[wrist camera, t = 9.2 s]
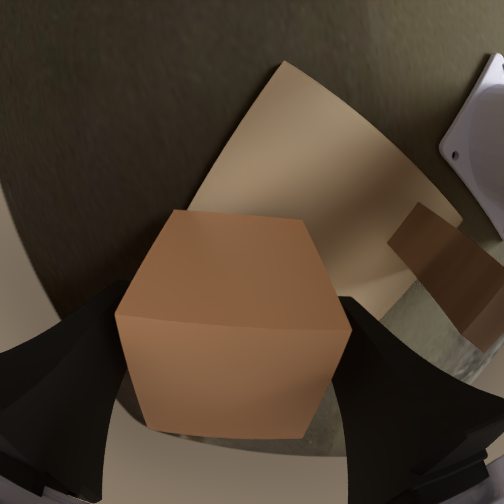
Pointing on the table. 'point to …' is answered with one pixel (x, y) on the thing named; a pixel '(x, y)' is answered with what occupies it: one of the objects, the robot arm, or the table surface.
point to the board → (324, 184)
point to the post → (454, 274)
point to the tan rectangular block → (231, 327)
